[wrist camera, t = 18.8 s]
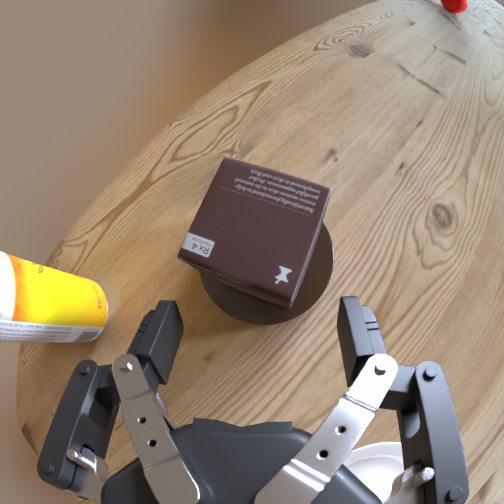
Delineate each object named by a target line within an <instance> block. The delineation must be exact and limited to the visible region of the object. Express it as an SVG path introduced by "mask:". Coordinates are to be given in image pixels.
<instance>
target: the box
mask: <svg viewBox="0 0 504 504" xmlns="http://www.w3.org/2000/svg"><path fill="white" fill-rule="evenodd" d="M330 192H331V189H330V188H328V187H325V186H322V185H320V184H317V183H314V182H311V181H308V180H305V179H302V178H299V177H295V176H292V175H289V174H285V173H282V172H279V171H275V170H272V169H269V168H265V167H261V166H258V165H254V164H251V163H247V162H244V161H239V160H236V159H232V158H227V157H225V158H224V159H223V161H222V163H221V165H220V167H219V169H218V171H217V173H216V175H215V177H214V179H213V181H212V183H211V185H210V187H209V189H208V191H207V193H206V195H205V197H204V199H203V201H202V204H201V206H200V208H199V210H198V212H197V214H196V216H195V219H194V220H193V223H192V225H191V227H190V229H189V231H188V233H187V235H186V237H185V240H184V242H183V245H182V247H181V249H180V251H179V254H178V256H177V258H178V259H179V260H182V261H184V262H186V263H187V264H189V265H191V266H193V267H194V268H196V269H198V270H200V271H201V272H203V273H205V274H207V275H209V276H211V277H212V278H214V279H215V280H216V281H219V282H221V283H223V284H226V285H229V286H231V287H233V288H236V289H238V290H240V291H243V292H245V293H247V294H250V295H253V296H255V297H258V298H261V299H263V300H266V301H268V302H271V303H274V304H277V305H280V306H282V307H285V308H291V306H292V305H293V302H294V300H295V297H296V295H297V292H298V290H299V288H300V285H301V283H302V280H303V278H304V275H305V272H306V270H307V267H308V264H309V262H310V259H311V256H312V253H313V250H314V247H315V244H316V241H317V238H318V235H319V232H320V228H321V225H322V222H323V218H324V215H325V211H326V208H327V205H328V201H329V198H330Z"/></svg>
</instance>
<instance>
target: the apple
mask: <svg viewBox="0 0 504 504" xmlns="http://www.w3.org/2000/svg"><path fill="white" fill-rule="evenodd" d="M440 1H441V3H442V5H443V6H444V7H445V8H446V9H448V10H449V11H450V12H453V13H460V12H463V11H465V10H466V9H467V1H466V0H440Z"/></svg>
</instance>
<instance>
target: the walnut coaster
mask: <svg viewBox="0 0 504 504" xmlns="http://www.w3.org/2000/svg"><path fill="white" fill-rule="evenodd" d="M333 263H334V251H333V244H332V240H331V237H330V234H329V232H328V229H327V227H326V226H325V224H324V222H322V225H321V228H320V232H319V235H318V238H317V241H316V244H315V247H314V250H313V253H312V256H311V259H310V262H309V264H308V267H307V270H306V272H305V275H304V278H303V280H302V283H301V285H300V288H299V290H298V292H297V295H296V297H295V300H294V302H293V305H292V306H291V308H285V307H282V306H280V305H277V304H274V303H271V302H268V301H266V300H263V299H261V298H258V297H255V296H253V295H250V294H247V293H245V292H243V291H240V290H238V289H236V288H233V287H231V286H229V285H226V284H223V283H221V282H219V281H216V280H215V279H214V278H212V277H211V276H209V275H207V274H205V273H203V272H201V271H200V270H199V272H200V276H201V280H202V283H203V285H204V287H205V289H206V291H207V293H208V294H209V296H210V297H211V299H212V300H213V301H214V302H215V303H216V304H217V305H218V306H219V307H220V308H221V309H222V310H223V311H225V312H226V313H228V314H229V315H231V316H233V317H235V318H237V319H239V320H242V321H245V322H248V323H253V324H264V325H267V324H277V323H281V322H285V321H288V320H291V319H293V318H295V317H297V316H299V315H301V314H303V313H304V312H305V311H307V310H308V309H309V308H311V307H312V306H313V305H314V304H315V303H316V302H317V300H318V299H319V298H320V297H321V295H322V294H323V292H324V291H325V289H326V287H327V285H328V283H329V280H330V278H331V274H332V270H333Z"/></svg>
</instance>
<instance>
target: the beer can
mask: <svg viewBox="0 0 504 504" xmlns="http://www.w3.org/2000/svg"><path fill="white" fill-rule="evenodd" d="M107 318H108V305H107V301H106V298H105V295H104V293H103V291H102V289H101V288H100V286H99V285H98V284H97V283H95V282H94V281H92V280H89V279H86V278H82V277H79V276H75V275H72V274H68V273H65V272H61V271H58V270H55V269H51V268H48V267H45V266H41V265H38V264H35V263H32V262H29V261H26V260H23V259H20V258H17V257H14V256H11V255H8V254H6V253H3V252H0V341H4V342H42V343H55V342H89V341H93V340H95V339H96V338H97V337H98V336H99V335H100V334H101V333H102V331H103V329H104V327H105V325H106V322H107Z"/></svg>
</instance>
